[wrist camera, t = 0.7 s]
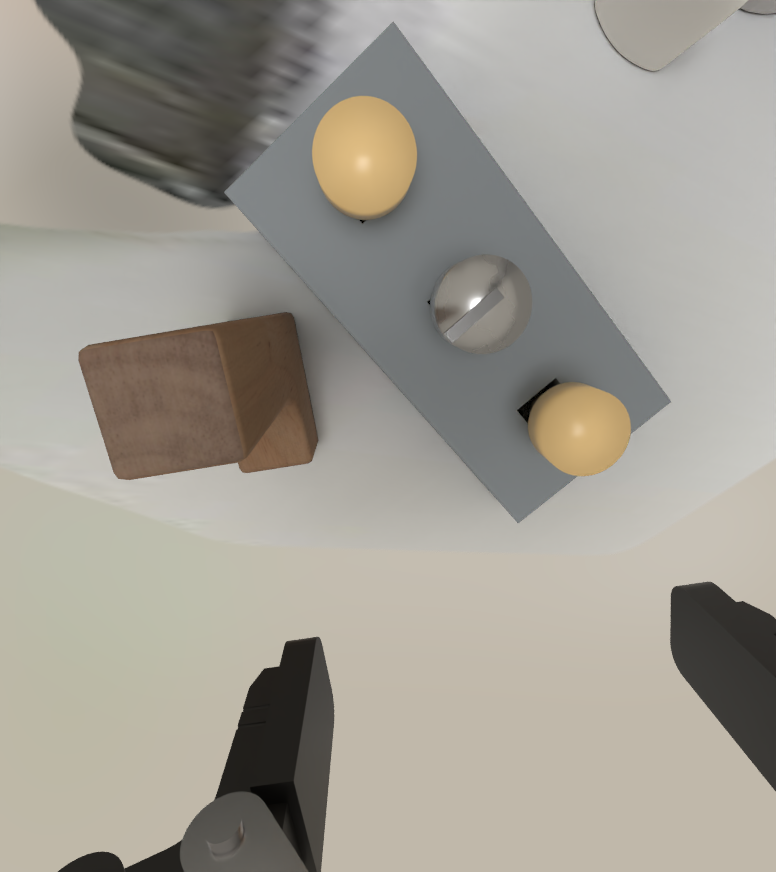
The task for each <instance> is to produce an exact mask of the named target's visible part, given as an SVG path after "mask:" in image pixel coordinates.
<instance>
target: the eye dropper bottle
mask: <svg viewBox="0 0 776 872" xmlns="http://www.w3.org/2000/svg"><path fill="white" fill-rule="evenodd" d="M747 1H748V0H595V10H596V13H597V17H598V19H599V22H600V24H601V27H602V29H603V31H604V33H605V34H606V36H607V38H608V39H609V41H610V42H611V44H612V45H613V46H614V47H615V49H616V50H617V51H618V52H619V53H620V54H621V55H623V56H624V57H625V58H626V59H628V60H629V61H631V62H632V63H634V64H636V65H637V66H639V67H642V68H644V69H647V70H650V71H657V70H660V69H662V68H663V67H665V66H666V65H668V64H669V63H670V62H671V61H673V60H674V59H675V58H677V57H678V56H679V55H681V54H682V53H683V52H684V51H686V50H687V49H688V48H690V47H691V46H692V45H694V44H695V43H696V42H697V41H699V40H700V39H701V38H703V37H704V36H705V35H706V34H708V33H709V32H710V31H712V30H713V29H714V28H715V27H717V26H718V25H719V24H721V23H722V22H723V21H724V20H726V19H727V18H728V17H729V16H731V15H732V14H733V13H734V12H736V11H737V10H738V9H739V8H741V7H742V6H743V5H744V4H745V3H746V2H747Z"/></svg>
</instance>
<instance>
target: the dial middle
mask: <svg viewBox="0 0 776 872" xmlns="http://www.w3.org/2000/svg"><path fill="white" fill-rule="evenodd" d="M531 310H532V293H531V289H530V286H529V283H528V281H527V279H526V277H525V275H524V274H523V272H522V271H521V270H520V269H519V268H518V267H517V266H516V265H515V264H514V263H512V262H511V261H509V260H507V259H505V258H503V257H500V256H496V255H477V256H473V257H470V258H468V259H465V260H462V261H460V262H458V263H455V264H454V265H452V266H451V267H449V268H448V269H447V270H446V271H445V272H444V273H443V274H442V275H441V276H440V277H439V279H438V280H437V282H436V284H435V286H434V288H433V291H432V294H431V300H430V312H431V317H432V321H433V323H434V326H435V328H436V329H437V331H438V332H439V334H440V335H441V336H442V337H443V338H444V339H445V340H446V341H447V342H449V343H451V344H452V345H454V346H456V347H458V348H460V349H462V350H464V351H467V352H470V353H474V354H490V353H494V352H498V351H500V350H503V349H504V348H506V347H508V346H509V345H511V344H512V343H513V342H514V341H515V340H517V339H518V338H519V336H520V335H521V334H522V333H523V331H524V329H525V328H526V326H527V324H528V321H529V318H530V315H531Z"/></svg>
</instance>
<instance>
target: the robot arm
mask: <svg viewBox="0 0 776 872" xmlns="http://www.w3.org/2000/svg"><path fill="white" fill-rule="evenodd" d="M741 9H744V10H746V11H748V12H754V13H760V14H770V13H776V0H748V1H747V2H746V3H745V4H744V5H743V6H742V7H741ZM670 639H671V640H670V641H671V642H670V643H671V651H672V655H673V658H674V661H675V663H676V666H677V668H678V669H679V671H680V673H681V674H682V675H683V677H684V678H685V679H686V681H687V682H688V683H689V684H690V685H691V687H692V688H693V689H694V690H695V692H696V693H697V694H698V695H699V697H700V698H701V699H702V700H703V702H704V703H705V704H706V705H707V707H708V708H709V709H710V710H711V712H712V713H713V714H714V715H715V717H716V718H717V719H718V720H719V722H720V723H721V724H722V725H723V726H724V728H725V729H726V730H727V731H728V733H729V734H730V735H731V736H732V738H733V739H734V740H735V741H736V743H737V744H738V745H739V746H740V748H741V749H742V750H743V751H744V753H745V754H746V755H747V756H748V758H749V759H750V760H751V761H752V763H753V764H754V765H755V766H756V767H757V769H758V770H759V771H760V772H761V774H762V775H763V776H764V777H765V779H766V780H767V781H768V782H769V784H770V785H771V786H772V787H773V788H774V790H775V791H776V619H775V618H774V617H773V616H771V615H770V614H768V613H766V612H764V611H762V610H760V609H758V608H756V607H754V606H752V605H750V604H747V603H745V602H743V601H742V602H735V601H734V600H733V599H732V598H731V597H730V596H728V595H727V594H726V593H725V592H724V591H723V590H721V589H720V588H719V587H718V586H717V585H715V584H714V583H712V582H703V583H696V584H689V585H682V586H676V587H674V588H673V589H672V593H671V638H670ZM243 709H244V710H243V712H242V714H241V717H240V720H239V723H238V730H236V733H235V737H234V739H233V743H232V746H231V749H230V752H229V756H228V759H227V762H226V766H225V769H224V772H223V775H222V779H221V782H220V785H219V788H218V791H217V794H216V797H215V800H214V801H213V802H211V803H210V804H208V805H207V806H206V807H205V808H203V809H202V810H201V811H200V812H199V814H197V815H196V817H195V818H194V819H193V821H192V822H191V824H190V825H189V827H188V828H187V830H186V832H185V835H184V837H183V839H182V840H181V841H180V842H178V843H177V844H175V845H173V846H172V847H170V848H168V849H166V850H164V851H162V852H160V853H157V854H155V855H153V856H151V857H149V858H147V859H144V860H142V861H140V862H138V863H136V864H134V865H132V866H129V867H127V868H125V869H124V867H123V864H122V862H121V860H120V859H119V858H118V857H117V856H116V855H114V854H112V853H109V852H95V853H91V854H87V855H85V856H82V857H80V858H78V859H76V860H74V861H72V862H71V863H69V864H68V865H66V866H65V867H63V868H62V869H61V870H59V871H58V872H321V862H322V852H323V841H324V829H325V818H326V807H327V796H328V785H329V773H330V761H331V751H332V739H333V728H334V703H333V694H332V689H331V684H330V679H329V675H328V670H327V666H326V661H325V656H324V652H323V647H322V643H321V640H320V638H319V637H313V638H307V639H299V640H292V641H287V642H286V643H285V646H284V650H283V654H282V658H281V662H280V666H279V667H273V668H266V669H264V670H263V671H262V672H261V674H260V675H259V676H258V677H257V679H256V680H255V681H254V682H253V684H252V685H251V686H250V688H249V691H248V694H247V697H246V701H245V704H244V707H243Z"/></svg>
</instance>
